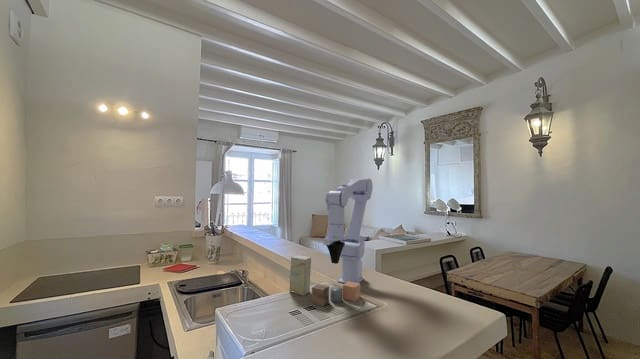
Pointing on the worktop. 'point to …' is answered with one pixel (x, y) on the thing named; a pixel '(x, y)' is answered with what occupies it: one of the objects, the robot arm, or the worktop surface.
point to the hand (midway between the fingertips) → (335, 263)
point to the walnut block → (320, 294)
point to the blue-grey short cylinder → (336, 294)
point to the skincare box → (300, 274)
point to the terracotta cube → (351, 291)
